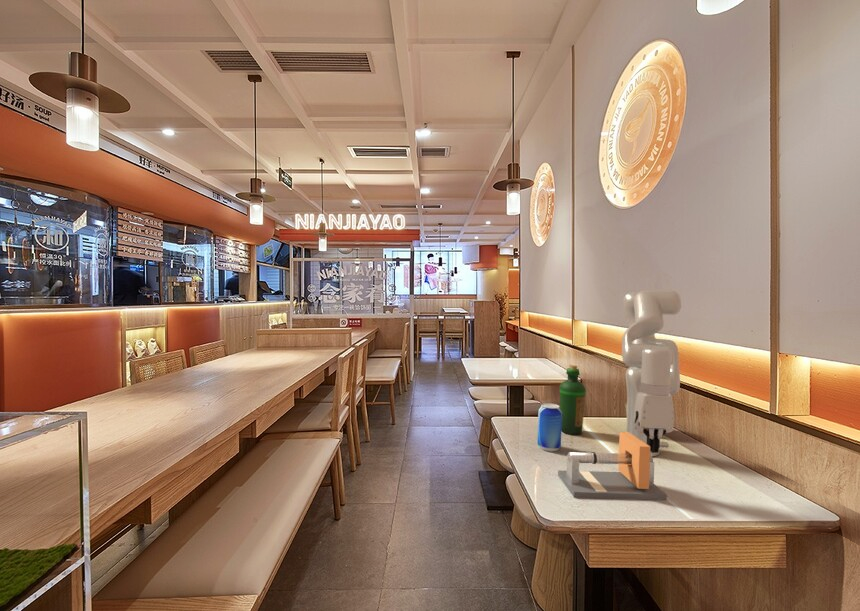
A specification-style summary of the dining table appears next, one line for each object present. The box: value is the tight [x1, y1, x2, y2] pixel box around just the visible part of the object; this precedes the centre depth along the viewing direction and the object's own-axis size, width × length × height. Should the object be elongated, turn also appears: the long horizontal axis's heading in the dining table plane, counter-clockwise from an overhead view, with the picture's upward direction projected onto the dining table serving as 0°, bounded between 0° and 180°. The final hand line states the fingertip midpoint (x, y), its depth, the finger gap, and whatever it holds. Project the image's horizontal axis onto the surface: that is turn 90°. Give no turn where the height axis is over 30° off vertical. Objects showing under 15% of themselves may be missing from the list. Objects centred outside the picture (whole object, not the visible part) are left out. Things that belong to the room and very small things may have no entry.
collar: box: [617, 431, 650, 489], centre depth 118 cm, size 3×12×12 cm, turn 0°
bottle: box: [559, 364, 587, 436], centre depth 167 cm, size 11×11×28 cm
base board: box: [557, 469, 668, 500], centre depth 118 cm, size 26×14×2 cm, turn 90°
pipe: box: [566, 451, 655, 486], centre depth 118 cm, size 24×4×9 cm, turn 90°
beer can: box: [537, 402, 562, 452], centre depth 148 cm, size 8×8×16 cm
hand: (652, 450), depth 118 cm, fingers closed
